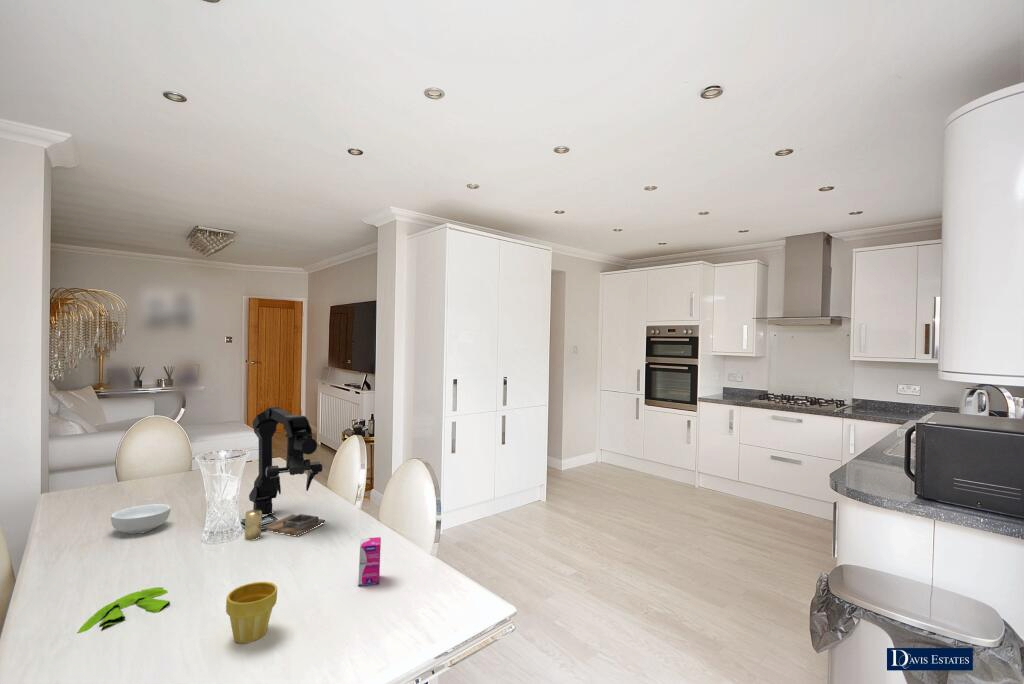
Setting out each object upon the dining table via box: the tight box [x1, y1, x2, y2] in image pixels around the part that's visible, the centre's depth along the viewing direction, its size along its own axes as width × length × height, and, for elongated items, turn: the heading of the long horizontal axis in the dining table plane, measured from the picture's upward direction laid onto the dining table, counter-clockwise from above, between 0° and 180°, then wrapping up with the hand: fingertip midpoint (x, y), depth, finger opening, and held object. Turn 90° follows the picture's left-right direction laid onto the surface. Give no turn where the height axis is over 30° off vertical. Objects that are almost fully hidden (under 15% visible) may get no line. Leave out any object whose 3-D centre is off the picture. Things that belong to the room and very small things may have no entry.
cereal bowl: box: [110, 503, 171, 535], centre depth 167 cm, size 17×17×7 cm
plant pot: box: [225, 581, 278, 644], centre depth 106 cm, size 10×10×10 cm
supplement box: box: [357, 536, 382, 587], centre depth 133 cm, size 6×6×12 cm
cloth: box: [76, 586, 171, 634], centre depth 115 cm, size 20×22×2 cm
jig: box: [262, 513, 326, 536], centre depth 172 cm, size 16×14×4 cm
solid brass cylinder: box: [244, 509, 263, 541], centre depth 162 cm, size 5×5×9 cm
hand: (293, 492), depth 171 cm, fingers open, 9 cm apart
